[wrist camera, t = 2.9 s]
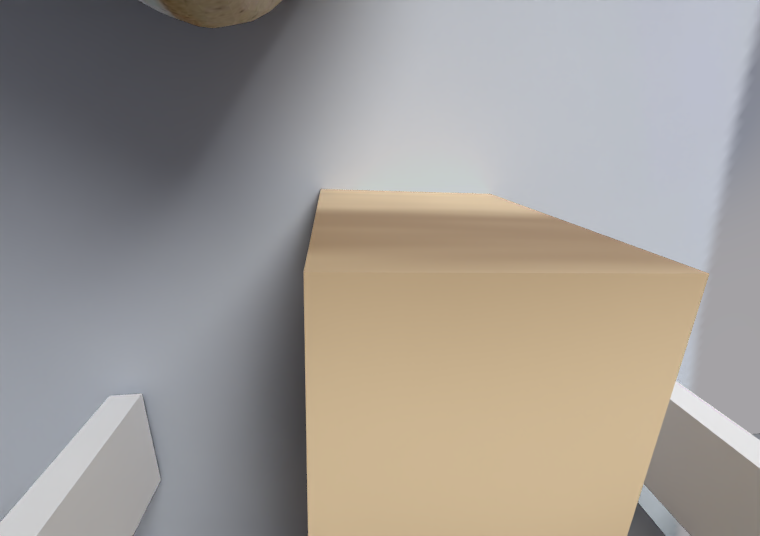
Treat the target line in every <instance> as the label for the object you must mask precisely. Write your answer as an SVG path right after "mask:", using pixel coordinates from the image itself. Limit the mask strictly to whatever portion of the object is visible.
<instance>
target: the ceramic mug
mask: <svg viewBox="0 0 760 536" xmlns="http://www.w3.org/2000/svg"><path fill="white" fill-rule="evenodd" d="M138 1H140V2H142V3H143V4H145V5H147V6H149V7H151V8H153V9H155V10H156V11H158V12H160V13H162V14H165V15H168V16H170V17H173V18H176V19H179V20H182V21H184V22H187V23H190V24H193V25H196V26H199V27H207V28H218V27H225V26H231V25H236V24H241V23H246V22H251V21H254V20H255V19H257V18H259V17H261V16H263V15H265V14H267V13H268V12H270V11H271V10H272V9H274V8H275V7H276V6H277V5H278V4H279V3H280V2H281V1H282V0H138Z"/></svg>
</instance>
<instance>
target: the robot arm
mask: <svg viewBox="0 0 760 536" xmlns="http://www.w3.org/2000/svg"><path fill="white" fill-rule="evenodd" d="M160 481H161V478H160V474H159V469H158V465H157V460H156V455H155V451H154V446H153V442H152V437H151V433H150V428H149V424H148V419H147V414H146V410H145V405H144V401H143V396H142V394H128V395H113V396H109V397H108V398H107V399H106V400H105V401H104V403H103V404H102V405H101V406H100V407H99V408H98V410H97V411H96V412H95V413H94V414H93V415H92V417H91V418H90V419H89V420H88V421H87V422H86V424H85V425H84V426H83V427H82V428H81V429H80V430H79V432H78V433H77V434H76V435H75V436H74V437H73V439H72V440H71V441H70V442H69V443H68V444H67V446H66V447H65V448H64V449H63V450H62V451H61V453H60V454H59V455H58V456H57V457H56V458H55V460H54V461H53V462H52V463H51V464H50V465H49V466H48V468H47V469H46V470H45V471H44V472H43V473H42V475H41V476H40V477H39V478H38V479H37V480H36V482H35V483H34V484H33V485H32V486H31V487H30V489H29V490H28V491H27V492H26V493H25V494H24V495H23V497H22V498H21V499H20V500H19V501H18V502H17V504H16V505H15V506H14V507H13V508H12V509H11V511H10V512H9V513H8V514H7V515H6V516H5V518H4V519H3V520H2V521H1V522H0V536H133V535H134V533H135V531H136V529H137V527H138V525H139V523H140V521H141V519H142V517H143V515H144V513H145V511H146V509H147V507H148V505H149V503H150V501H151V499H152V497H153V495H154V493H155V491H156V489H157V487H158V485H159V483H160ZM644 485H645V486H646V487H647V488H648V489H649V490H650V491H651V492H652V493H653V494H654V496H655V497H656V498H657V499H658V500H659V501H660V502H661V503H662V504H663V506H664V507H665V508H666V509H667V510H668V511H669V512H670V513H671V514H672V516H673V517H674V518H675V519H676V520H677V521H678V522H679V523H680V524H681V526H682V527H683V528H684V529H685V530H686V531H687V532H688V533H689V534H690V535H691V536H760V440H759V439H757V438H756V437H755V436H753V435H752V434H750V433H749V432H748V431H746V430H745V429H743V428H742V427H740V426H739V425H738V424H736V423H735V422H733V421H732V420H730V419H729V418H728V417H726V416H725V415H723V414H722V413H721V412H719V411H718V410H716V409H715V408H713V407H712V406H711V405H709V404H708V403H706V402H705V401H704V400H702V399H701V398H699V397H698V396H697V395H695V394H694V393H692V392H691V391H689V390H688V389H687V388H685V387H684V386H682V385H681V384H680V383H678V382H677V381H676V382H675V385H674V388H673V391H672V394H671V398H670V401H669V404H668V407H667V410H666V413H665V417H664V420H663V423H662V426H661V429H660V433H659V436H658V439H657V442H656V445H655V448H654V452H653V455H652V458H651V461H650V464H649V468H648V471H647V474H646V477H645V480H644Z"/></svg>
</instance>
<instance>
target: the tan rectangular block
mask: <svg viewBox="0 0 760 536" xmlns="http://www.w3.org/2000/svg"><path fill="white" fill-rule="evenodd" d="M708 276H709V273H706V272H703V271H700V270H698V269H695V268H692V267H689V266H687V265H684V264H681V263H679V262H676V261H673V260H670V259H668V258H665V257H662V256H659V255H657V254H654V253H651V252H648V251H646V250H643V249H640V248H637V247H635V246H632V245H629V244H626V243H624V242H621V241H618V240H615V239H613V238H610V237H607V236H604V235H602V234H599V233H596V232H593V231H591V230H588V229H585V228H582V227H580V226H577V225H574V224H571V223H569V222H566V221H563V220H560V219H558V218H555V217H552V216H550V215H547V214H544V213H541V212H539V211H536V210H533V209H530V208H528V207H525V206H522V205H519V204H517V203H514V202H511V201H508V200H506V199H503V198H500V197H497V196H495V195H492V194H474V193H439V192H404V191H369V190H335V189H321V190H320V195H319V200H318V205H317V210H316V214H315V219H314V224H313V229H312V234H311V239H310V243H309V248H308V253H307V258H306V263H305V267H304V329H305V387H306V445H307V503H308V536H627V535H628V531H629V528H630V525H631V522H632V519H633V515H634V512H635V509H636V506H637V503H638V499H639V496H640V493H641V490H642V487H643V484H644V480H645V477H646V474H647V471H648V468H649V464H650V461H651V458H652V455H653V452H654V448H655V445H656V442H657V439H658V436H659V433H660V429H661V426H662V423H663V420H664V417H665V413H666V410H667V407H668V404H669V401H670V398H671V394H672V391H673V388H674V385H675V382H676V378H677V375H678V372H679V369H680V366H681V362H682V359H683V356H684V353H685V350H686V347H687V343H688V340H689V337H690V334H691V331H692V327H693V324H694V321H695V318H696V315H697V311H698V308H699V305H700V302H701V299H702V296H703V292H704V289H705V286H706V283H707V280H708Z"/></svg>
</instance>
